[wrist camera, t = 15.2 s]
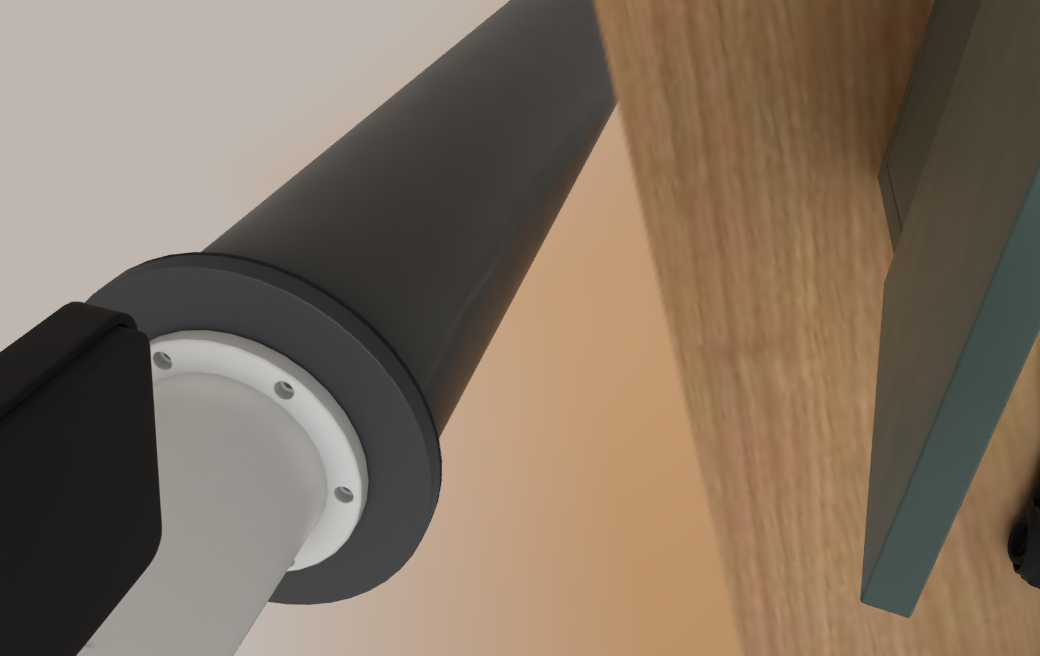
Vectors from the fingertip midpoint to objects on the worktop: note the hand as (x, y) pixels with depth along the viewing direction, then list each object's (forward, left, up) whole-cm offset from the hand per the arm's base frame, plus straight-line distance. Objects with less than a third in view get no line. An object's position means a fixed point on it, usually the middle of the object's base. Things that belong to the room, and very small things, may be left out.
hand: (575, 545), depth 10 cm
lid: (+6, 0, -11) cm, 13 cm away
